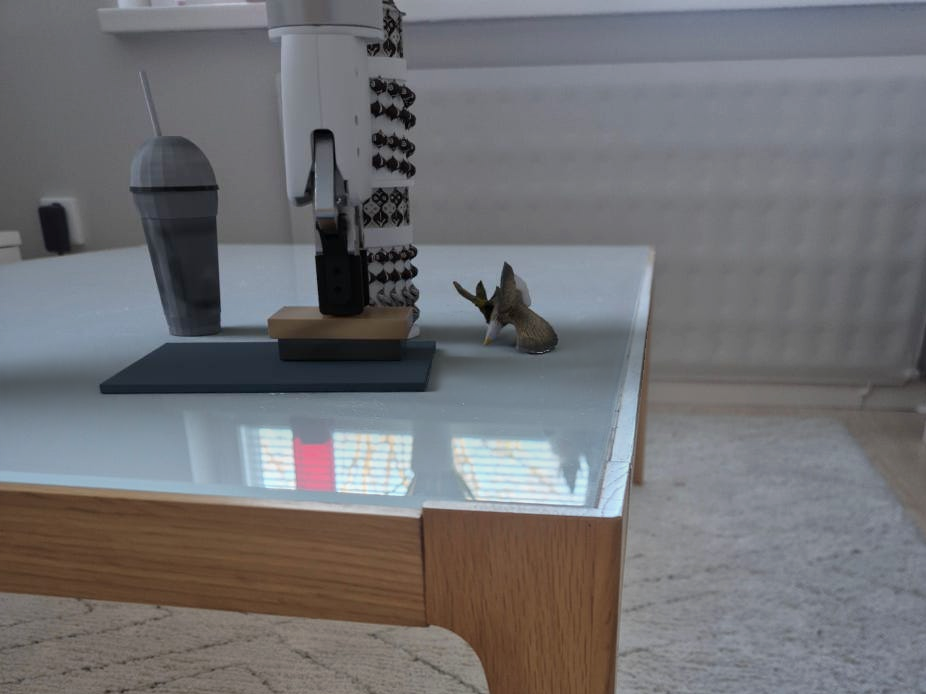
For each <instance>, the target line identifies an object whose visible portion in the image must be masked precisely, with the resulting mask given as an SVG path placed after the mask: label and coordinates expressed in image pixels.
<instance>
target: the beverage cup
mask: <svg viewBox="0 0 926 694" xmlns="http://www.w3.org/2000/svg"><path fill="white" fill-rule="evenodd" d="M138 74H139V77H140V81H141V85H142V86H141V87H142V89H143V94H144V97H145V100H146V104H147V108H148V112H149V116H150V120H151V124H152V128H153V132H154V135H153V136H151V137H149V138H148V139H146V140H145V141H144V142H142V143H141V145H139V147H138V148H137V150H136V152H135V154H134V155H133V158H132V161H131V165H130V171H129V182H130V186H129V192H130V193H132V194H131V195H132V198H133V203H134V207H135V209H136V212H137V215H138V217H139V218H140V220H141V224H142V228H143V233H144V237H145V241H146V245H147V249H148V253H149V257H150V263H151V266H152V271H153V274H154V278H155V282H156V286H157V291H158V294H159V295H158V296H159V299H160V303H161V307H162V311H163V315H164V316H165V317H164V318H165V320H166V324H167V326H168V332H169V334H170V335H171V336H172V335H173V336H179V337H180V336H181V337H196V336H197V337H199V336H208V335H213V334H217V333H220V332H221V331H222V324H221V323H222V317H221V314H222V303H221V302H222V301H221V285H220V284H221V283H220V282H221V281H220V263H219V242H218V241H219V240H218V224H217V223H218V222H217V221H218V220H217V216H218V211H219V195H218V194H219V193H218V191H219V190H220V187H219V185H218V183H217V179H216V175H215V171H214V168H213V166H212V164H211V162H210V160H209V158H208V157H207V156H206V154H205V153H204V152H203V150H202V149H201V148H200V147H199V146H198V145H196V144H195V143H194V142H193V141H191V140H189V139H188V138H186V137H184V136H182V135H163V134H162V133H163V132H162V130H161V127H160V121H159V119H158V113H157V111H156V110H157V109H156V107H155V102H154V98H153V95H152V91H151V87H150V83H149V79H148V76H147V72H146V70H142V71H141V70H140V71H138Z"/></svg>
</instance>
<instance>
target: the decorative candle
mask: <svg viewBox="0 0 926 694" xmlns="http://www.w3.org/2000/svg"><path fill="white" fill-rule="evenodd" d="M382 8H383V32H384V41H383V42H381V43H377V44H369V45H367V58H368V74H369V91H370V110H371V134H372V194H371V197H370V198H368V199H367V200H366V201H365V202H363V203H362V205H363V223H364V237H365V248H364V249H367V258H368V275H369V293H370V303H369V304H368V306H366V307H412V308H413V326H412V328H411V331H410V333H409V335H408V337H407V340H409V339H412V338H415V337H418V336H419V335H420V326H419V325H417V324H415V323H416V321H418V320H419V319H420V314H421V310H420V308H419V307H418V306H417V305H416V303H417V301H418V300H419V298H420V290H419V289H418V288H417V287H416V286H415V284H414V283H413V282H412V280H413V279H414V278H417V276H418V275H419V274H418V273H419V269H418V267H416V265H413V263H412V262H411V261H412V260H414V259H415V258H416V257H417V255H418V253H419V250H418V248H416V247H415V246H414V245H412V244H413V243H414V235H413V233H414V232H413V223H411V218H410V195H409V191H410V187H414V186H415V180H414V178H412V177H414V176H415V175H416V173H417V168H416V166H415V165H414V164H413V163H411V162H410V161H409V158H410V157H411V156H413V155H414V153H415V152H416V145H415V144H414V143H413V142H411V141H410V140H409V138H408V137H407V138H406V131H408V132H407V133H408V134H409V132H410V129H412V128H413V127H415V125H416V124H417V117H416V116H415V114H413V113H412V112H411V111H410V110H409V108H410V107H412V105H414V104H415V101H416V99H417V96H416V94H415V92H414V91H412V90H411V88H409V86H408V85H406V82H407V81H408V75H407V72H408V71H407V60H406V59H405V58H404V33H403V17H407V13H406V12H405V11H401V10H400V9H399V8H398V7H397V5H396V3H395V2H394V0H382ZM336 201H339V199H336ZM359 250H362V249H359Z"/></svg>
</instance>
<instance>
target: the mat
mask: <svg viewBox="0 0 926 694" xmlns="http://www.w3.org/2000/svg"><path fill="white" fill-rule="evenodd" d="M436 349H437V341H436V340H407V348H406V350H405V353H404V355H403V357H402V360H401V361H364V360H280V358H279V348H278V341H204V342H203V341H200V342H199V341H198V342H196V341H195V342H190V341H189V342H188V341H187V342H183V341H182V342H164V343H163V344H162V345H160V346H158V347H157V348H155V349H154V350H152V351H151V352H149V353H147V354H146V355H143V357H141V358H139V359H138V360H136V361H134V362H132V363H131V364H130V365H128V366H126V367H125V368H123V369H122V370H120V371H118V372H117V373H115V374H113V375H112V376H109V378H107V379H106V380H104V381H103V382H101V383H99V384H98V387H99V393H101V394H169V393H170V394H175V393H177V394H178V393H182V394H184V393H185V394H186V393H190V394H191V393H301V392H302V393H304V392H305V393H306V392H309V393H311V392H312V393H313V392H315V393H317V392H319V393H320V392H323V393H324V392H425V391H426V388H427V385H428V380H429V377H430V373H431V368H432V365H433V361H434V357H435V353H436Z"/></svg>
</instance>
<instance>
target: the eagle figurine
mask: <svg viewBox="0 0 926 694" xmlns="http://www.w3.org/2000/svg"><path fill="white" fill-rule="evenodd" d="M500 273H501V274H500V282H499V286H498V285H496V286H495V290H494V292H493V294H492V296H491V297H490V298H489V299H488V296H487V290H486V288H485V286H484V283H483V280H481V279H480V280H479V282H478V283H477V284H476V286H475V295H474V294H472V293H471V292H469V291H468V290H466V288H464V287H463V286H462V285H461V284H460V283H459V282H457V281H456V280H454V281H453V282H452V284H453V287H454V288H455V290H456V291H457V293H458V294H459V295H460V296H461V297H462V298H464V299H465V300H467V301H469V302H471V303H472V304H474V305H475V307H476V308H478V310H479V312H480V313H481V314H482V315H483V318H484V319H485V323H486V324H488V327H487V329H486V334H485V340H484V342H483V346H487V345H488V344H489V343H490V342H492V341H494V340H496V339H497V337H498V335H499V334H500V332H501V331H502V329H504V328H505V327H506V326H508V325H512V326H513V328H514V329H515V332H516V348H517V350H518V351H523V352H525V353H531V354H534V353H537V352H544V351H545V352H547V351H546V350H550V351H551V350H552V349H553V348H555V349H556V347H558V346H559V338H558V334H557V332H556V331H555V329H554V328H553V326H552V325H551V324H550V323H549V321H547V320H546V319H545V318H543V317H542V316H541V315H539V314H538V313H536V312H535V311H534V310H533V309H531V308H530V307H531V306H532V298H531V295H530V290H529V288H528V285H527V283H526V281H525V280H523V279H522V278H521V276H519V275H518V274H517V273H515V272H514V269H513V266H512V265H510V264H509V263H508V262H507V261H504V262H503V266H502V270H501V272H500ZM545 352H544V353H545Z"/></svg>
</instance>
